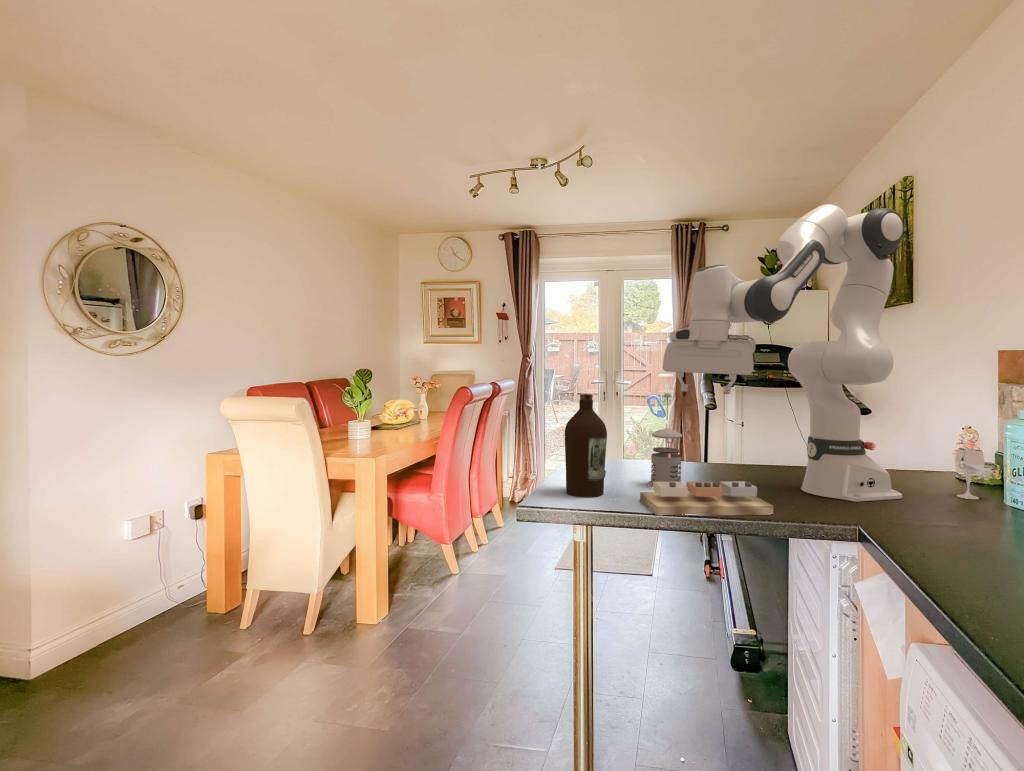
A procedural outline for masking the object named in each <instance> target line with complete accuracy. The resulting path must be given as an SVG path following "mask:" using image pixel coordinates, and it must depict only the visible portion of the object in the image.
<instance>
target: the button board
mask: <svg viewBox="0 0 1024 771" xmlns="http://www.w3.org/2000/svg"><path fill="white" fill-rule="evenodd" d="M639 501H640V502H641V501H642V502H643V503H644V504H643V505H645V506H646V508H648V509H649V508H650V509H651V510H652V511H653V512H654V513H655V516H660V517H661V516H663V515H678V516H686V515H685V514H709V515H708V516H772V515H771V514H773V515H774V505H773V504H770V503H768V501H765V500H762V499H761V498H759V497H757V496H730V495H728V494H726V493H724V492H723V491H722V496H695V495H693V494H692V493H690V492H689V491H687V496H676V497H661V496H660V495H658V494H657V493H656V492H655V491H640V493H639ZM642 502H641V503H642ZM650 509H649V510H650ZM651 510H650V511H651ZM652 511H651V512H652ZM653 512H652V513H653ZM654 513H653V514H654ZM682 514H683V515H682ZM710 514H711V515H710ZM717 514H718V515H717Z"/></svg>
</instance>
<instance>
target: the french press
mask: <svg viewBox="0 0 1024 771" xmlns="http://www.w3.org/2000/svg"><path fill="white" fill-rule="evenodd" d="M663 398H666V419H668V415H669V414H668V413H669V412H668V411H669V409H668V407H669V406H668V405H669V398H672V394H671V393H670V392H665V393H664V394H663ZM651 436H652V437H654V438H658V439H665V447H663V446H662V447H661V446H659V447H658V446H657V447H654V448H652V451H653V453H651V457H650V458H651V460H650V461H651V464H650V465H651V466H650V469H651V470H650V480H649V481H648V482H647V483H648V484H647V486H648V485H649V486H648V487H650V486H651V488H653V482H680V483H681V484H683V482H682V471H681V470H682V455H681V454H679V453H681V449H679V448H676V444H675V443H676V442H675V439H681V438H682V437H683V434H682V433H680V432H679V431H677V430H674V429H671V428H668V425H666V426H665V428H663V429H662V428H661V429H658V430H655V431H653V432H652V433H651ZM669 440H672V441H671V442H669ZM670 444H673V447H670ZM669 456H670V457H669Z"/></svg>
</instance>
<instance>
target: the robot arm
mask: <svg viewBox="0 0 1024 771" xmlns="http://www.w3.org/2000/svg"><path fill="white" fill-rule="evenodd" d="M847 215H848V214H846V211H844V210H843V209H842V207H839V206H838V205H835V204H831V203H830V204H828V203H826V204H822V205H819V206H817V207H815V208H814V209H812V210H810V211H809V212H807V213H805V214H804V215H803V216H801V217H800V218H799V219H797V220H796V221H795V222H794V223H793V224H791V225H790V226H789V227H788V228H787V229H786V230H785V231H784V232H783V233H782V234H781V236H780V237H779V239H778V240H777V243H776V254H777V257H778V259H779V260H780V262H781V263H782V264H783V265H784V266H783V267H782V268H781V269H780V270H779V271H778V272H777V273H775V274H773V275H769V276H765V277H762V278H758V279H752V280H743V279H740V278H739V277H738V276H736V275H735V274H734V273H733V272H732V271H731V270H730V266H729V265H726V264H715V265H713V264H712V265H708V266H704V267H701V268H699V269H697V270H696V271H695V273H694V276H693V278H692V283H691V290H690V291H691V292H690V307H691V315H690V317H689V325H688V327H681V328H679V329H676V330H673V331H671V332H670V333H669V340H670V342H668V343H667V345H666V348H665V350H664V355H663V360H662V370H663V371H665V373H666V372H669V373H677V374H676V375H677V379H678V381H679V383H680V384H681V388H680V389H681V390H680V391H681V392H683V393H688V392H689V389H688V388H689V384H686V383H685V382H684V380H683V378H684V374H685V373H691V374H695V373H696V374H715V375H717V374H718V375H719V374H721V375H728V379H729V380H730V381H729V382H728V384H727V385H723V387H722V389H723V390H722V394H724V395H730V394H731V389H732V386H733V385H734V383H735V382H736V381H737V376H738V375H740V376H741V375H742V376H743V375H744V376H749V375H750V376H751V374H753V372H754V355H753V354H754V353H755V352H756V340H755V339H754V338H753V337H751V336H750V335H746V334H744V335H742V334H741V335H740V334H739V335H738V334H729V331H730V323H732V324H740V323H754V322H755V323H756V322H765V323H767V322H768V323H769V322H770V323H773V322H778V321H780V320H782V319H783V318H784V317H785V316H786V315H787V314H789V311H790V310H791V308H792V306H793V304H794V301H795V299H796V297H797V296H798V294H799V293H800V292H801V290H802V289H803V288H804V286H805V285H806V284H807V283H808V282H809V281H810V280H811V278H812V277H813V276H814V274H815V273H816V272H817V271H818V270H819V269H820V267H821V265H822V264H823V265H839V264H842V263H846V264H847V266H846V267H847V271H846V274H845V276H844V278H843V280H842V283H841V285H840V286H839V289H838V292H837V294H836V297H835V300H834V302H833V305H832V308H831V311H830V312H829V318H830V321H831V323H832V325H833V326H834V327H835V328H836V329H838V330H840V335H839V337H838V338H837V340H822V341H821V340H819V341H817V340H816V341H811V342H805V343H802V344H799V345H796V346H795V347H793V348H792V349H791V351H790V353H789V354H788V358H787V368H788V370H789V371H788V372H789V373H790V374H791V376H792V377H793V378H795V379H796V380H797V381H798V382H799V384H800V386H801V387H802V388H803V390H804V394H806V397H807V401H808V408H809V436H807V449H806V451H807V464H806V470H805V475H804V477H803V481H802V484H801V487H800V490H801V491H803V492H804V493H807V494H812V495H814V496H820V497H824V498H826V497H827V498H832V499H839V500H845V501H849V502H871V501H885V500H886V501H887V500H898V499H899V500H901V499H903V494H902V493H901V492H899V491H897V490H895V489H892V480H891V476H890V473H889V472H888V471H887V469H885V468H884V467H883V466H882V465H880V464H879V463H877V462H876V461H875V460H874V459H873V458H871V457H870V456H868V455H867V452H866V450H869V451H874V450H875V449H876V447H877V446H876V444H875V443H874V442H871V441H868V440H867V441H863V440H862V439H860V436H861V435H860V434H861V432H860V431H861V409H860V407H859V406H858V405H857V403H855V402H853V401H852V400H850V399H849V397H848V396H846V394H845V392H844V389H843V388H844V387H843V385H852V386H853V385H854V386H863V385H871V384H876V383H881V382H883V381H886V379H888V377H889V376H890V374H891V373H892V371H893V368H894V357H893V356H894V355H893V354H892V351H891V350H890V348H889V346H887V345H886V344H885V343H884V342H883V341H882V339H881V336H880V334H879V333H880V332H879V326H880V322H881V318H882V315H883V312H884V309H885V306H886V303H887V301H888V299H889V295H890V291H891V288H892V283H893V278H894V270H895V269H894V268H895V267H894V263H893V262H892V261H891V260H890V258H891V257H893V256H894V255H895V253H896V252H897V251H898V248H899V245H900V243H901V242H902V239H903V237H904V236H903V235H904V232H905V223H904V220H903V218H902V216H901V214H899V213H898V212H897V211H896V210H895V209H893V208H888V207H887V208H886V207H885V208H882V207H881V208H875V209H871V210H870V211H867V212H862V213H859V214H855V215H853V216H849V217H848V216H847Z"/></svg>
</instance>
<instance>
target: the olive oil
mask: <svg viewBox="0 0 1024 771" xmlns="http://www.w3.org/2000/svg"><path fill="white" fill-rule="evenodd" d="M593 397H594V396H593V394H591V393H580V394H579V400H578V401H579V402H578V403H579V404H578V406H579V408H578V410H577V412H575V413H574V414H573V416H572V417H571V418H570V419H568V421H567V423H566V425H565V427H564V450H565V451H564V452H565V453H564V454H565V456H564V458H565V459H564V460H565V492H566V493H567V494H568V495H570V496H575V497H579V498H580V497H581V498H595V497H600V496H602V495H604V489H605V488H604V487H605V478H606V474H607V473H606V472H607V471H606V456H607V441H608V431H607V428H606V427H607V426H606V424H605V423H604V421H603V420H602V418H600V416H599V415H598V414H597V413H596V412H595V410H594V408H593V407H594V406H593V405H594V400H593Z"/></svg>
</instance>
